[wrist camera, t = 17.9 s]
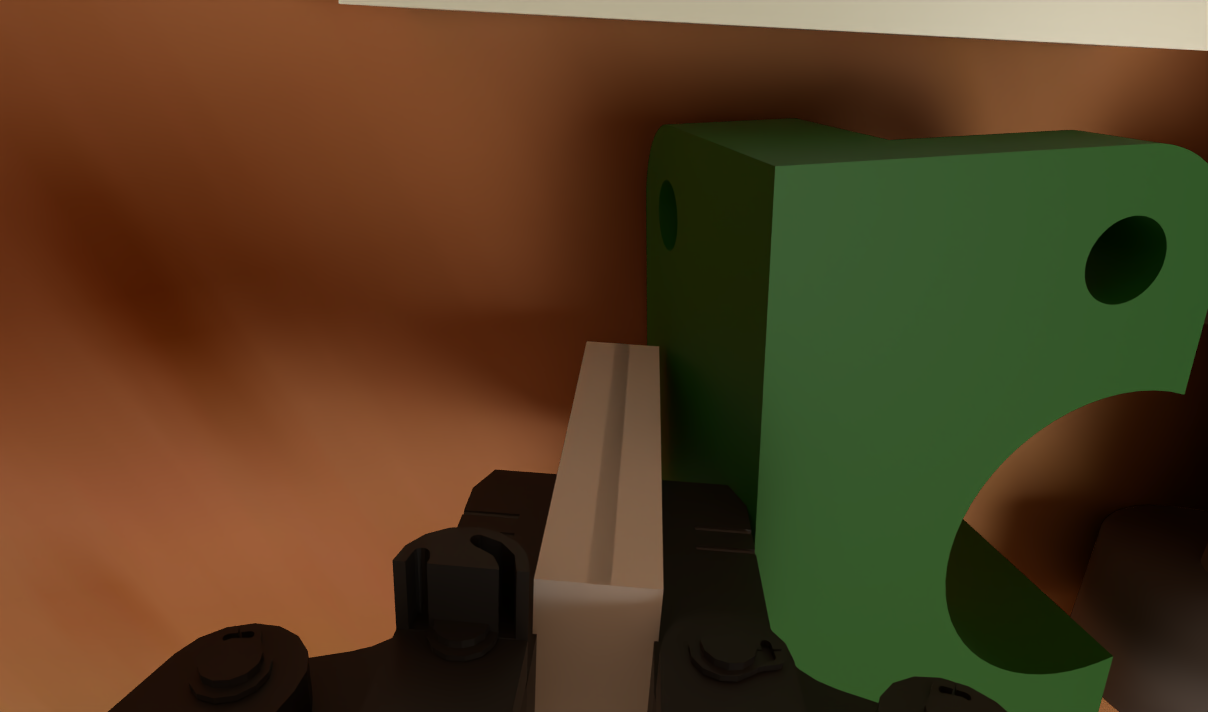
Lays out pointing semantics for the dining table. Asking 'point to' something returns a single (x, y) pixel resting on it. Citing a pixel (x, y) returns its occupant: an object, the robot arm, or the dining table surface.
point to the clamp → (909, 368)
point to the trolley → (1150, 607)
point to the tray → (894, 17)
